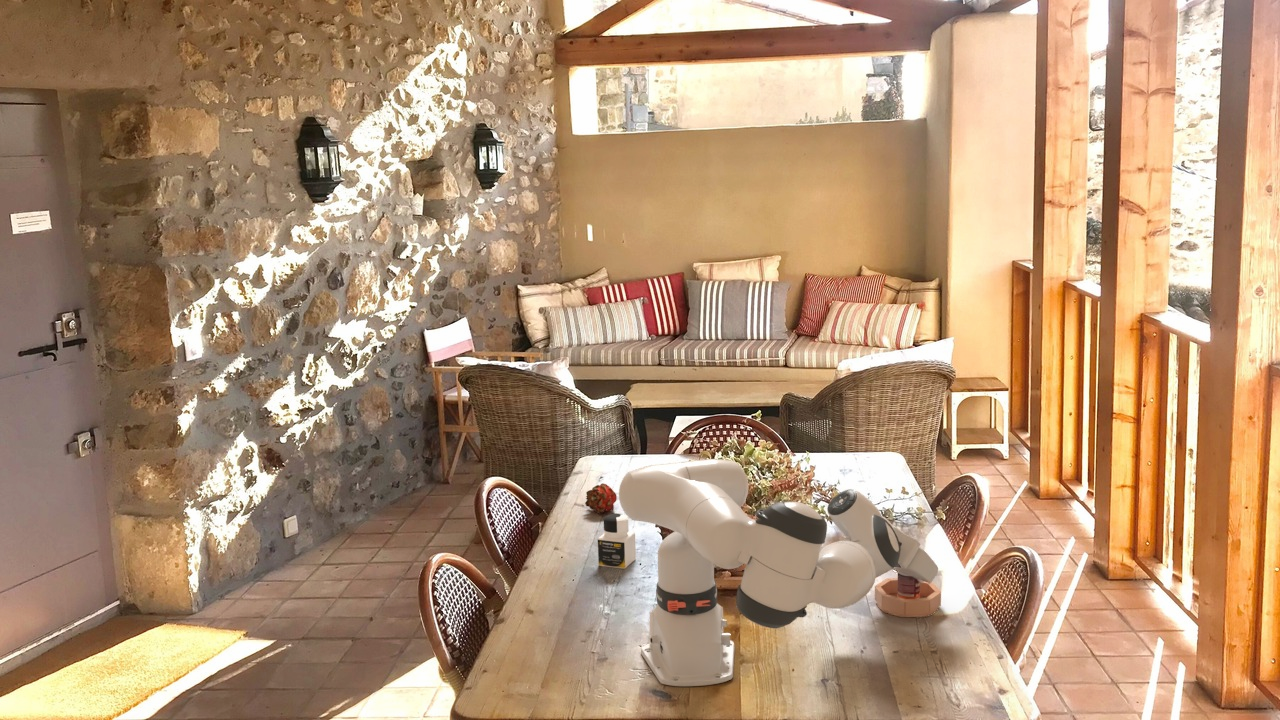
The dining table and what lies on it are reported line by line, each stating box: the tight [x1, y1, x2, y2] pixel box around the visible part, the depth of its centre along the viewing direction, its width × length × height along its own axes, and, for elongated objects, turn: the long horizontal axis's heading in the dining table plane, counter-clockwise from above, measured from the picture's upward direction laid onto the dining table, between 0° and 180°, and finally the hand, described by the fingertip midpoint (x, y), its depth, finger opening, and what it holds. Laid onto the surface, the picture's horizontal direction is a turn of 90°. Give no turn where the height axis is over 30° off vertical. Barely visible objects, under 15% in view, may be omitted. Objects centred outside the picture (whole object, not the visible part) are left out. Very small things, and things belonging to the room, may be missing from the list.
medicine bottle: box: [597, 513, 637, 570], centre depth 268 cm, size 7×7×12 cm
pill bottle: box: [897, 571, 920, 599], centre depth 237 cm, size 5×5×8 cm
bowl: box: [874, 577, 942, 618], centre depth 238 cm, size 13×13×4 cm
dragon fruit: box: [584, 482, 618, 515], centre depth 309 cm, size 8×8×12 cm
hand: (910, 575), depth 238 cm, fingers closed on pill bottle, 5 cm apart
